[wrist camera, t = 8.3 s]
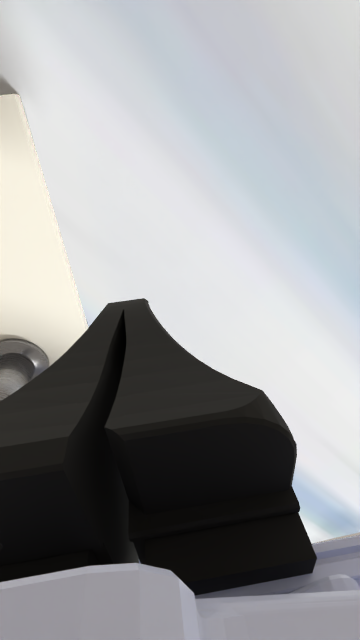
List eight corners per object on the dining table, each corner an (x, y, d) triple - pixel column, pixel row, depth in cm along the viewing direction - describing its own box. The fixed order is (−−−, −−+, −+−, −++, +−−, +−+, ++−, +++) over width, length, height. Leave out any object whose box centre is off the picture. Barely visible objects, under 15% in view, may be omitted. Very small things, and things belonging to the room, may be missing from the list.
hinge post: (59, 372, 23) (34, 453, 18) (4, 380, 23) (-40, 465, 17) (41, 327, 21) (6, 402, 15) (-20, 336, 21) (-78, 415, 15)
